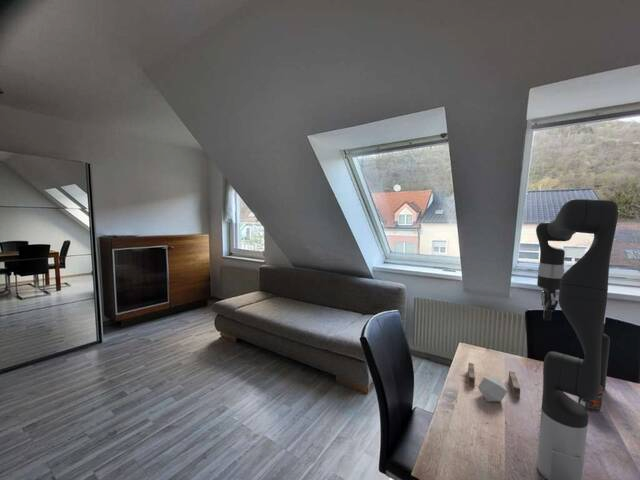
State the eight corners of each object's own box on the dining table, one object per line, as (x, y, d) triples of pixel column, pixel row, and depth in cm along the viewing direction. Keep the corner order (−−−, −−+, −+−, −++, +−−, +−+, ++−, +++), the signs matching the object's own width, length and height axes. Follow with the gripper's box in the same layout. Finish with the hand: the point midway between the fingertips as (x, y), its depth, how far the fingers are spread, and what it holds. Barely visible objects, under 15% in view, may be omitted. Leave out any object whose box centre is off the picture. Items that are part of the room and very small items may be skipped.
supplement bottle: (583, 411, 100) (586, 381, 99) (574, 400, 106) (577, 371, 104) (605, 414, 98) (608, 383, 97) (594, 403, 104) (597, 374, 103)
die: (504, 412, 101) (515, 387, 103) (481, 397, 102) (492, 373, 104) (492, 405, 109) (502, 381, 111) (470, 391, 110) (481, 369, 112)
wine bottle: (581, 383, 116) (588, 312, 113) (590, 380, 118) (597, 310, 115) (599, 392, 110) (607, 317, 107) (608, 388, 112) (615, 315, 109)
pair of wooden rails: (519, 398, 107) (520, 388, 107) (468, 386, 114) (469, 377, 114) (514, 381, 118) (514, 372, 117) (468, 371, 125) (468, 362, 125)
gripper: (569, 280, 99) (565, 327, 101) (557, 272, 111) (554, 315, 113) (542, 278, 102) (539, 324, 104) (534, 271, 114) (531, 312, 116)
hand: (547, 319), depth 108 cm, fingers closed
